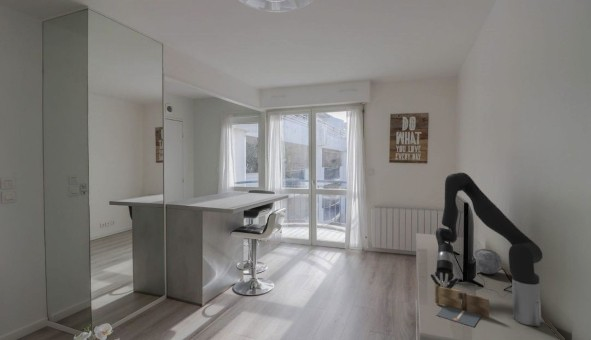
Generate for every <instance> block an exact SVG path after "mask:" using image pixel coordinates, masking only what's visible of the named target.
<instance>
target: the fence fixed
mask: <svg viewBox="0 0 591 340" xmlns="http://www.w3.org/2000/svg"><path fill="white" fill-rule="evenodd" d="M461 293H462V299H461V305H462V310H464V311H469V312H472V313H476V314H479V315H482V316H481V317H484V318H488V319H489V318H490V300H489V299H490V298H487V297H483V296H479V295H476V294H470V293H467V292H464V291H463V292H462V291H461Z"/></svg>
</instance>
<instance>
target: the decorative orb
mask: <svg viewBox="0 0 591 340" xmlns="http://www.w3.org/2000/svg"><path fill="white" fill-rule="evenodd" d="M473 255H474V258H475V259H476V267H475V269H476V270H478V271H479V272H480V273H483V274H487V275H493V274H496V273H498V272H499V271H500V269H501V268H502V259H501V256H500V255H499V254H498V253H497V252H496V251H495V250H492V249H489V248H479V249H478V250H476V251H474V253H473Z"/></svg>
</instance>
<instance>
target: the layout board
mask: <svg viewBox="0 0 591 340" xmlns="http://www.w3.org/2000/svg"><path fill="white" fill-rule="evenodd" d="M436 316H437V317H439V318H443V319H446V320H449V321H453V322H456V323H459V324H462V325H465V326H468V327H472V328H475V326H476V325H477V324H478V322H479V321H480V319H481V318H482V317H483V316H482V315H479V314H476V313H472V312H469V311H464V310H462V304H461V309H460V308H456V307H451V306H447V305H443V307H442V308H441V309H440V310H439V311H438V312H437V313H436Z"/></svg>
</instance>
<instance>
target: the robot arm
mask: <svg viewBox="0 0 591 340" xmlns="http://www.w3.org/2000/svg"><path fill="white" fill-rule="evenodd" d="M461 191H462V192H463V193H464V194H465V195H466V196H467V197H468V198H469V199H470V201H471V203H472V207H473V211H474V213H475V216H477V217H478V219H479V220H481V222H482V223H483V224H484V225H485V226H486V227H487V228H489V229H490V230H492V231H493V232H494V233H495V232H496V233H497V234H499V235H500V236H502V237H503V238H504V239H505V240H507V242H508V243H510V244H511V246H510V248H509V251H508V265H509V266H508V267H509V272H510V274H511V278H512V279H511V282H512V284H511V285H512V290H511V291H512V318H513V320H515V321H516V322H517V323H520V324H523V325H526V326H531V327H532V326H533V327H540V326H541V323H542V311H541V310H542V307H541V306H542V303H541V295H540V293H541V291H540V276H539V275H538V274H537V273H536V272H535V266H534V265H535V264H537V263H539V262H541V261H542V259H543V251H542V250H541V248H540V246H538V244H536V243H535V242H534V241H533V240H532V239H531V238H529V237H528V236H527V235H526V234H525V233H524V232H523V231H522V230H520V229H519V228H518V227H517V226H516V225H515V224H514V223H513V222H512V220H510V219H509V218H508V217H507V216H506V215H505V214H504V213H503V212H502V210H500V209H499V207H497V205H496V204H495V203H494V202H493V201H492V200H490V198H489V197H488V196H487V195H486V194H485V193H484V192H483V191H482V190H481V189H480V187H479V186H478V185H477V184H476V182H475V181H474V180H473V178H471V176H470V175H468V174H467V173H466V172H457V173H451V174H448V175H447V176H446V177H445V180H444V206H443V207H444V209H443V213H442V218H441V225H442V226H444V227H438V228H437V229H436V230H435V238H436V241H437V246H438V247H437V257H436V269H435V272H434V273H433V274H430V278H431V280H432V281H433V283H434V285H439V286H440V287H445V288H450V289H453V287H455V286H456V285H457V284H458V283H459V279H458V278H457V277H455V274H454V273H453V272H454V248H453V247H454V246H453V245H452V244H454V243H455V242H456V241H457V240H458V234H457V233H458V232H457V222H458V216H459V209H458V206H457V202H456V200H457V195H458V193H459V192H461ZM445 227H446V228H445ZM437 279H438V280H437Z"/></svg>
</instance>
